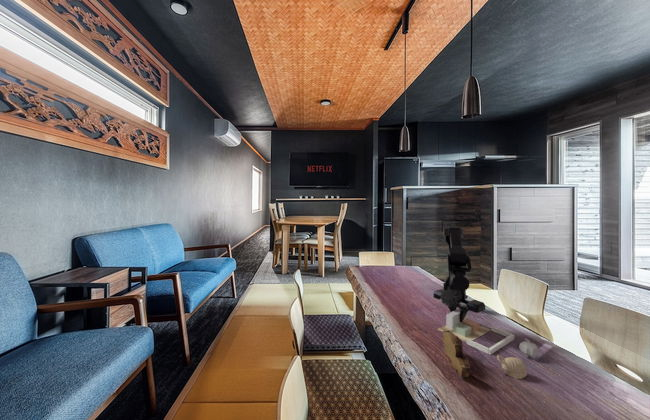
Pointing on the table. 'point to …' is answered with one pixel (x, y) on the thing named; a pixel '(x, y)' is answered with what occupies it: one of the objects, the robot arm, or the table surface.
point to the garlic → (529, 349)
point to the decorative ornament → (513, 367)
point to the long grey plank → (454, 318)
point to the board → (470, 337)
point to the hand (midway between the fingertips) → (457, 320)
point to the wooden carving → (456, 353)
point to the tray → (497, 346)
